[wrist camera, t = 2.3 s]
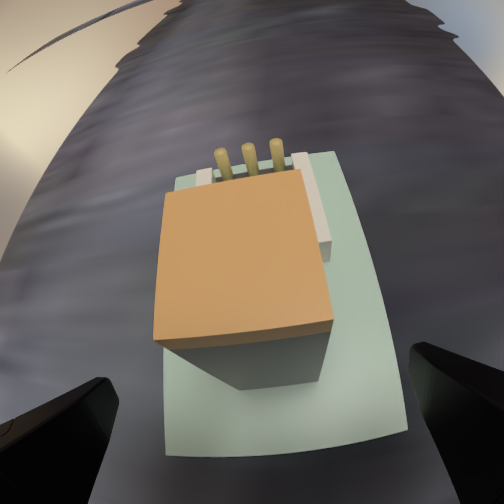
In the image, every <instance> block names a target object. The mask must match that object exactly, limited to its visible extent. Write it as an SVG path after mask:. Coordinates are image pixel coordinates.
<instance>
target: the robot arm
mask: <svg viewBox="0 0 504 504" xmlns="http://www.w3.org/2000/svg"><path fill="white" fill-rule="evenodd" d="M408 374H409V378H410V381H411V383H412V386H413V389H414V392H415V395H416V398H417V401H418V404H419V407H420V410H421V413H422V415H423V418H424V420H425V422H426V425H427V427H428V429H429V431H430V433H431V435H432V437H433V440H434V442H435V444H436V446H437V448H438V451H439V453H440V455H441V457H442V460H443V462H444V464H445V467H446V469H447V471H448V474H449V476H450V479H451V481H452V483H453V486H454V488H455V491H456V493H457V496H458V498H459V501H460V504H504V371H501V370H499V369H496V368H493V367H490V366H488V365H485V364H482V363H479V362H477V361H474V360H471V359H469V358H466V357H463V356H461V355H458V354H455V353H453V352H450V351H447V350H445V349H442V348H439V347H437V346H434V345H432V344H429V343H426V342H420V343H416V344H413V345H411V347H410V351H409V363H408ZM118 407H119V398H118V396H117V394H116V391H115V389H114V387H113V385H112V383H111V381H110V379H109V378H107V377H96V378H94V379H92V380H90V381H88V382H86V383H84V384H82V385H80V386H79V387H77V388H75V389H73V390H71V391H69V392H67V393H65V394H63V395H61V396H59V397H57V398H55V399H53V400H51V401H49V402H47V403H45V404H43V405H41V406H39V407H37V408H35V409H33V410H30V411H28V412H26V413H24V414H22V415H20V416H18V417H16V418H15V419H12V420H10V421H7V422H5V423H3V424H1V425H0V504H88V501H89V498H90V495H91V492H92V489H93V486H94V483H95V480H96V477H97V475H98V472H99V469H100V466H101V463H102V461H103V458H104V455H105V452H106V450H107V447H108V444H109V441H110V437H111V433H112V429H113V425H114V422H115V418H116V414H117V410H118Z"/></svg>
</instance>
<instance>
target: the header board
mask: <svg viewBox="0 0 504 504" xmlns="http://www.w3.org/2000/svg"><path fill="white" fill-rule="evenodd" d="M241 148H242V152H243V156H244V160H245V164H242V165H237V166H231V165H230V161H229V158H228V155H227V151H226V149H225V148H218V149H216V150H215V151H214V155H215V158H216V161H217V164H218V167H219V169H215V170H212V168H207V169H202V170H197V171H196V174H191V175H186V176H182V177H177V178H176V181H175V189H174V191H178V190H182V189H187V188H192V187H197V186H202V185H207V184H212V183H217V182H223V181H228V180H234V179H239V178H245V177H251V176H257V175H263V174H269V173H275V172H282V171H288V170H295V169H301V173H302V177H303V181H304V185H305V189H306V193H307V197H308V201H309V205H310V209H311V213H312V217H313V221H314V226H315V230H316V234H317V239H318V243H319V248H320V252H321V257H322V261H323V266H324V271H325V276H326V281H327V285H328V290H329V296H330V301H331V306H332V311H333V317H334V321H333V326H332V330H331V334H330V338H329V342H328V346H327V350H326V354H325V358H324V362H323V366H322V369H321V373H320V377H319V380H318V381H317V382H310V383H303V384H296V385H288V386H280V387H271V388H262V389H252V390H240V391H239V390H238V389H236V388H234V387H232V386H230V385H228V384H226V383H224V382H223V381H221V380H219V379H217V378H215V377H214V376H212V375H210V374H208V373H206V372H205V371H203V370H201V369H200V368H198V367H196V366H194V365H193V364H191V363H189V362H188V361H186V360H184V359H183V358H181V357H179V356H178V355H176V354H174V353H173V352H171V351H170V350H168V349H166V348H165V347H164V428H165V449H166V455H169V456H188V457H241V456H261V455H274V454H285V453H294V452H302V451H310V450H317V449H324V448H330V447H336V446H341V445H347V444H352V443H357V442H362V441H366V440H371V439H375V438H379V437H383V436H387V435H391V434H395V433H398V432H402V431H406V430H408V426H407V419H406V412H405V405H404V399H403V393H402V387H401V381H400V376H399V370H398V365H397V360H396V355H395V350H394V345H393V341H392V336H391V332H390V327H389V323H388V319H387V315H386V311H385V307H384V303H383V299H382V295H381V291H380V287H379V284H378V280H377V276H376V273H375V269H374V266H373V262H372V259H371V256H370V252H369V249H368V246H367V242H366V239H365V236H364V233H363V230H362V227H361V224H360V221H359V218H358V215H357V212H356V209H355V206H354V203H353V200H352V197H351V194H350V192H349V189H348V186H347V183H346V181H345V178H344V175H343V173H342V170H341V167H340V165H339V162H338V160H337V157H336V155H335V152H334V151H330V152H322V153H314V154H308V153H307V152H301V153H294V154H291V157H285V158H284V151H283V144H282V140H281V139H279V138H274V139H272V140H270V149H271V155H272V160H266V161H260V162H257V157H256V152H255V148H254V144H252V143H245V144H243V145H242V147H241Z"/></svg>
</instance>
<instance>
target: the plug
mask: <svg viewBox="0 0 504 504" xmlns="http://www.w3.org/2000/svg"><path fill="white" fill-rule="evenodd" d="M333 321H334V317H333V311H332V306H331V301H330V296H329V290H328V285H327V281H326V276H325V271H324V266H323V261H322V257H321V252H320V248H319V243H318V239H317V234H316V230H315V226H314V221H313V217H312V213H311V209H310V205H309V201H308V197H307V193H306V189H305V185H304V181H303V177H302V173H301V169H295V170H288V171H282V172H275V173H269V174H263V175H257V176H251V177H245V178H239V179H234V180H228V181H223V182H217V183H212V184H207V185H202V186H197V187H192V188H187V189H182V190H178V191H173V192H168V193H166V196H165V203H164V211H163V219H162V228H161V237H160V247H159V257H158V268H157V281H156V295H155V311H154V332H153V340H154V341H155V342H157V343H158V344H160V345H162V346H163V347H165V348H166V349H168V350H170V351H171V352H173V353H174V354H176V355H178V356H179V357H181V358H183V359H184V360H186V361H188V362H189V363H191V364H193V365H194V366H196V367H198V368H200V369H201V370H203V371H205V372H206V373H208V374H210V375H212V376H214V377H215V378H217V379H219V380H221V381H223V382H224V383H226V384H228V385H230V386H232V387H234V388H236V389H238V390H239V391H240V390H252V389H262V388H271V387H280V386H288V385H296V384H303V383H310V382H317V381H318V380H319V377H320V373H321V369H322V366H323V362H324V358H325V354H326V350H327V346H328V342H329V338H330V334H331V330H332V326H333Z"/></svg>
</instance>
